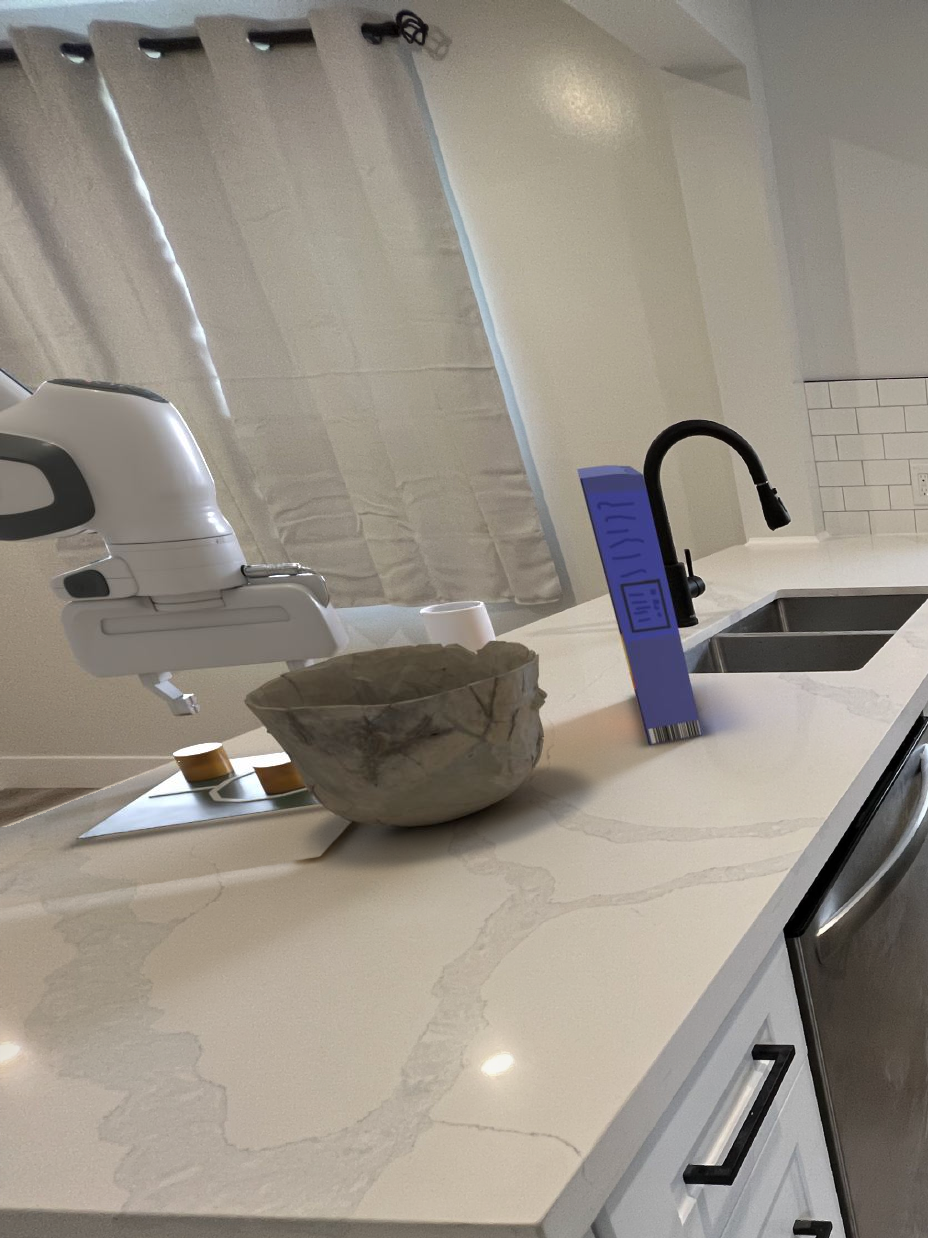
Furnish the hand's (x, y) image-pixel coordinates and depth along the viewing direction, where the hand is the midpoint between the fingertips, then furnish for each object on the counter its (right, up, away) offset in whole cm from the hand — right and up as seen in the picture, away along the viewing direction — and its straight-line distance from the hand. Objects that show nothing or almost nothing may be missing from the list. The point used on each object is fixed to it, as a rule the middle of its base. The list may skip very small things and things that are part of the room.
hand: (246, 708), depth 87 cm
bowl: (+22, -11, -1) cm, 25 cm away
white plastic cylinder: (+9, +1, +24) cm, 26 cm away
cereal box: (+32, +1, +24) cm, 40 cm away
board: (-4, -8, +6) cm, 11 cm away
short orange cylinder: (-12, -6, +8) cm, 15 cm away
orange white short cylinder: (+1, -8, +4) cm, 9 cm away
